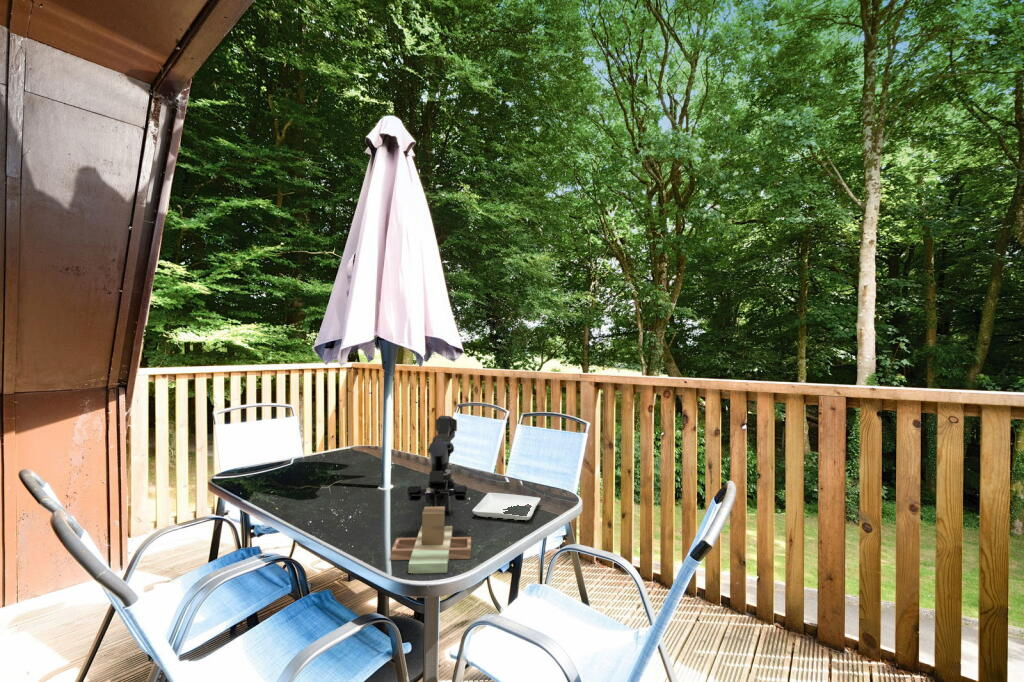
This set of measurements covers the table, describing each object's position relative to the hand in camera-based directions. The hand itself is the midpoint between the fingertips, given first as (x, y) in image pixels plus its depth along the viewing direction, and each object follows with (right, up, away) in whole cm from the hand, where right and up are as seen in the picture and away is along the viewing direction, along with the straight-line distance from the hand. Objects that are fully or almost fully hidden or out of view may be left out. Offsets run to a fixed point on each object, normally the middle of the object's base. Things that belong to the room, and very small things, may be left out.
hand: (435, 518), depth 142 cm
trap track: (+1, -7, -8) cm, 10 cm away
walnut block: (0, -4, -7) cm, 8 cm away
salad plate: (+22, -8, +26) cm, 35 cm away
